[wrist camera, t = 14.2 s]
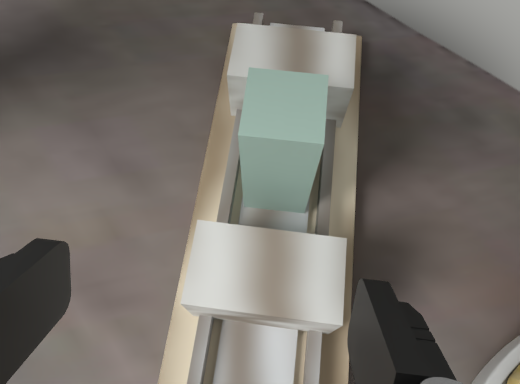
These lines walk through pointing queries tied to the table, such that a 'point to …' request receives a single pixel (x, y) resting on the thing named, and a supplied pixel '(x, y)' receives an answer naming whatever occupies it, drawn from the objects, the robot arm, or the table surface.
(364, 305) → the robot arm
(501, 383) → the bowl
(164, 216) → the table surface
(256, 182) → the sage module
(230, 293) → the rail board
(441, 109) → the table surface
